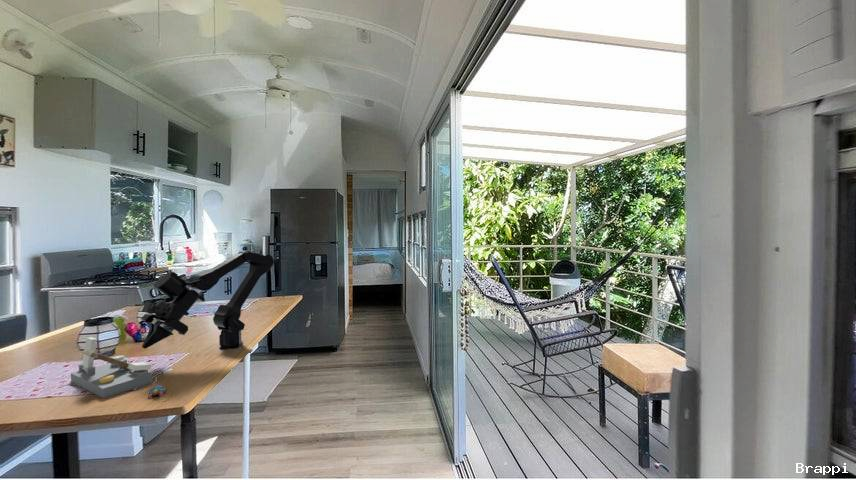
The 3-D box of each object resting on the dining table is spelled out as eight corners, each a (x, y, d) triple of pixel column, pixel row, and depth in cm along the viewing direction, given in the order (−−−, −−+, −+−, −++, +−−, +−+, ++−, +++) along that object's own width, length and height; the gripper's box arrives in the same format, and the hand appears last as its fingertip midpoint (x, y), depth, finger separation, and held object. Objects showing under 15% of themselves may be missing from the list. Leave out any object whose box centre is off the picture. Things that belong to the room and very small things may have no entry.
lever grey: (87, 366, 104) (91, 337, 105) (92, 368, 102) (97, 339, 103) (81, 367, 103) (86, 337, 104) (87, 369, 101) (91, 339, 102)
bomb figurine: (181, 390, 97) (180, 370, 97) (159, 403, 90) (158, 382, 90) (153, 390, 98) (152, 370, 97) (129, 403, 90) (128, 382, 90)
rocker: (143, 367, 104) (145, 362, 105) (150, 369, 103) (151, 364, 103) (127, 368, 101) (129, 363, 101) (134, 370, 99) (135, 365, 99)
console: (118, 368, 112) (117, 354, 112) (152, 382, 101) (151, 366, 101) (71, 381, 102) (70, 366, 102) (102, 398, 92) (102, 381, 92)
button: (121, 361, 111) (121, 354, 111) (126, 363, 109) (126, 356, 109) (109, 365, 108) (108, 358, 108) (113, 366, 106) (113, 359, 106)
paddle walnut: (124, 362, 106) (86, 349, 99) (131, 364, 104) (93, 351, 97) (121, 366, 106) (83, 353, 98) (128, 368, 103) (89, 356, 96)
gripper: (146, 289, 117) (105, 330, 108) (175, 293, 108) (134, 339, 99) (173, 307, 124) (138, 348, 115) (203, 313, 115) (167, 357, 106)
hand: (143, 347), depth 109 cm, fingers closed
